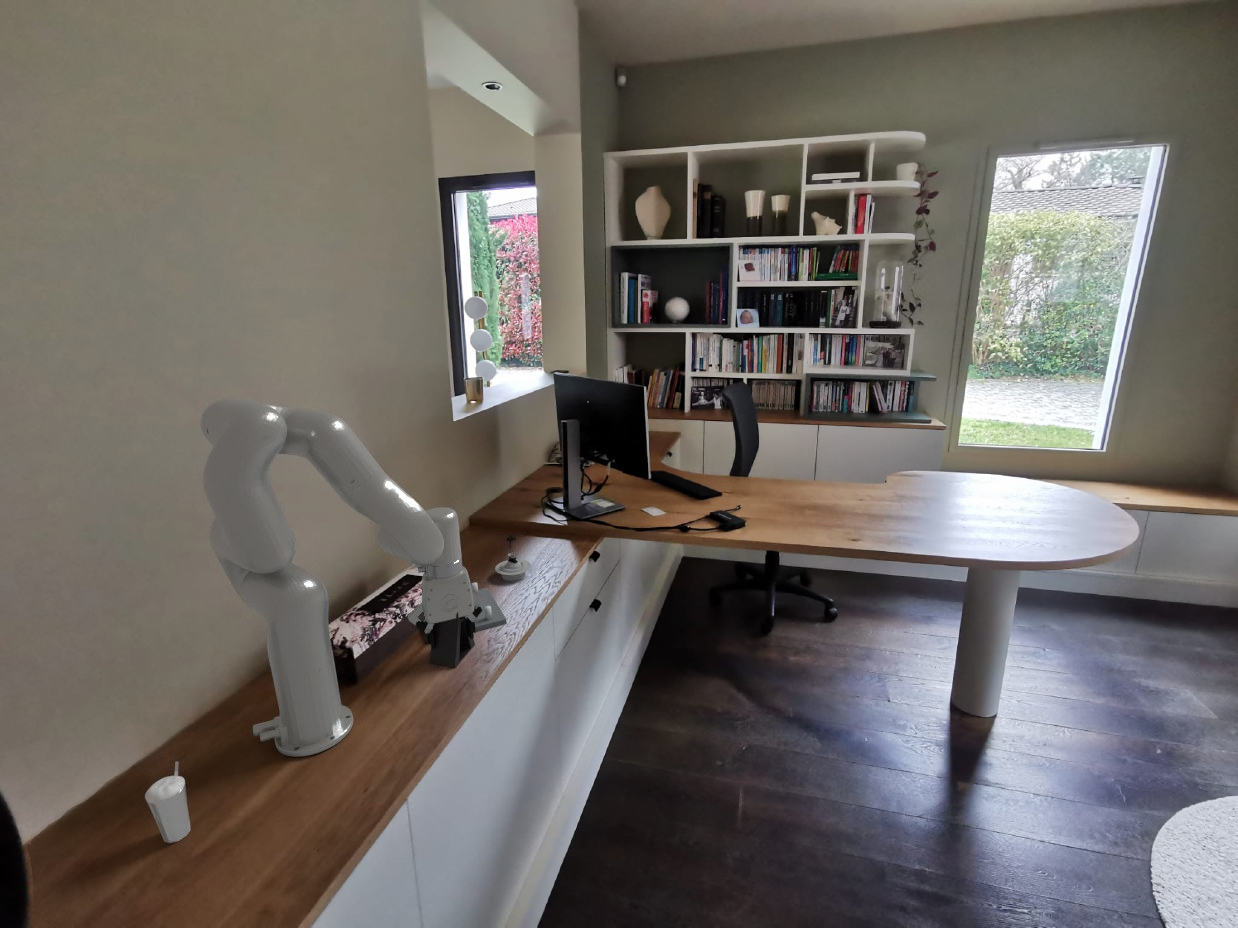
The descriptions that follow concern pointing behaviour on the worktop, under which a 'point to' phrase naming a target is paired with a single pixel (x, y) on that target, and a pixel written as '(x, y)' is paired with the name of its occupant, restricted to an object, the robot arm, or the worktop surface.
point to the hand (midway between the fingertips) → (451, 640)
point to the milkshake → (170, 807)
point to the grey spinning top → (513, 566)
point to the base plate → (494, 611)
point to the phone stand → (451, 642)
